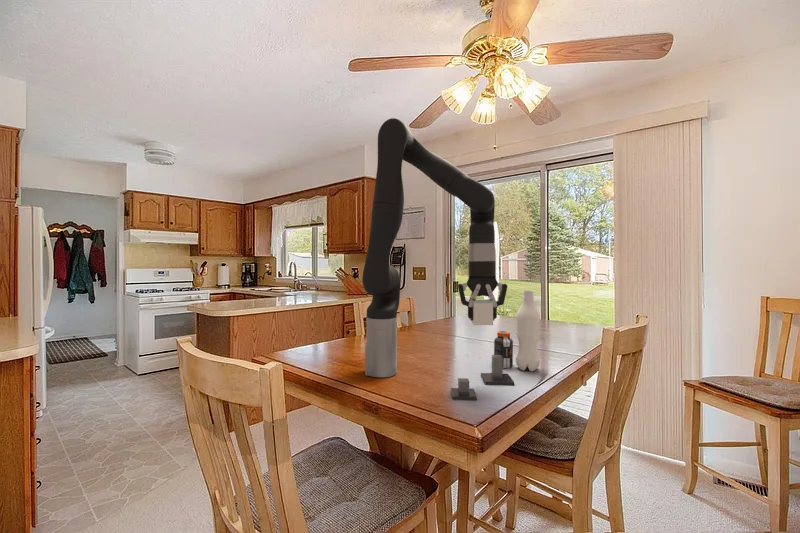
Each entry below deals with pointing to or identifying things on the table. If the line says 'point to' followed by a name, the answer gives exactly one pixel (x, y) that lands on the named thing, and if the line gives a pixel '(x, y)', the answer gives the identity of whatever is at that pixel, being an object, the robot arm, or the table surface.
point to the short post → (463, 391)
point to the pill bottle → (504, 348)
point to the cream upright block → (482, 312)
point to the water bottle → (528, 333)
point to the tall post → (497, 373)
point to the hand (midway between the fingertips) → (482, 320)
